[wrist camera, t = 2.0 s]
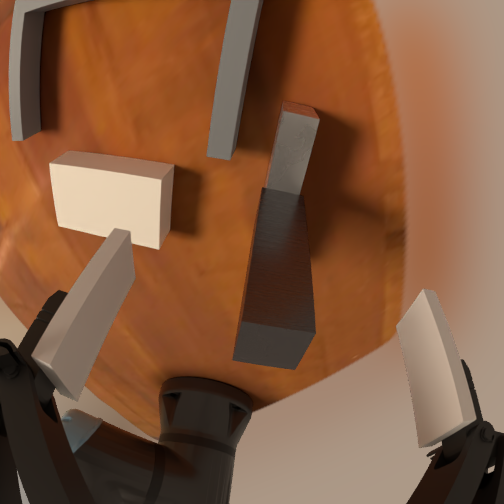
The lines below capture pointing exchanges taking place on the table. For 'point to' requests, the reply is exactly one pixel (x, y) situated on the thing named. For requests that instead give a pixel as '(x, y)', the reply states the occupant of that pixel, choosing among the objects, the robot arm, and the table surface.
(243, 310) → the grey inverted t block
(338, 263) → the table surface
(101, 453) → the robot arm
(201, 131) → the table surface
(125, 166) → the cream tile
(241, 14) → the frame
